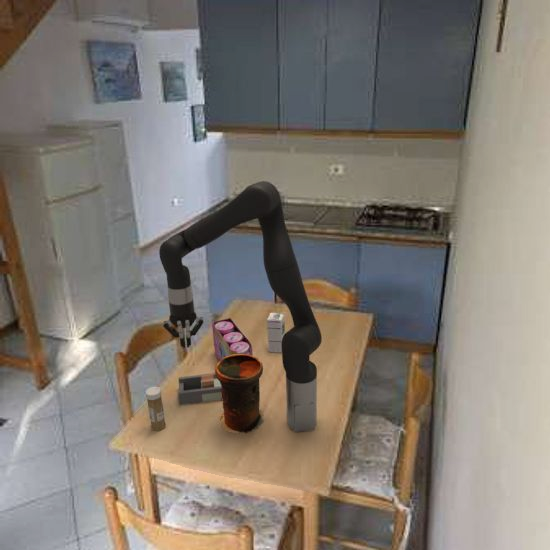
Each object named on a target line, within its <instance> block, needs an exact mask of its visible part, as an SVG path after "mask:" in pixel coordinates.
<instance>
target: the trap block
mask: <svg viewBox="0 0 550 550" xmlns="http://www.w3.org/2000/svg"><path fill="white" fill-rule="evenodd" d="M207 374H208V375H202V374H200V375H201V379H202V389H203V388H211V387H214V378H213V374H211V373H207Z"/></svg>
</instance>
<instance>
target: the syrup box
mask: <svg viewBox="0 0 550 550" xmlns="http://www.w3.org/2000/svg"><path fill="white" fill-rule="evenodd" d="M266 329H267V346H268V348H267V349H268V352H270V353H276V354H277V353H279V354H282V346H281V344H282V338H283V336H284V334H285V333H286V327H285V314H284V313H280V312H270V313H269V315H268V316H267V319H266Z"/></svg>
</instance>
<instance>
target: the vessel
mask: <svg viewBox="0 0 550 550" xmlns="http://www.w3.org/2000/svg"><path fill="white" fill-rule="evenodd" d="M263 370H264V366H263V363H262V362H261V360H260V359H259V358H258V357H257V356H255V355H253V356H251V355H248V354H233V355H229V356H226V357H224V358H223V359H222V360H219V361H218V362H217V363H216V366H215V368H214V373H215V375H216V378H217V379H218V380H219V381H220V384H221V386H222V388H221V393H222V400H221V401H222V408H223V413H222V414H221V415H222V416H220V417H219V419H220V421H221V422H220V425H221V426H222V427H223V429H224V430H225V431H226V432H230V433H233V434H237V433H238V434H241V433H245V434H247V433H251V432H253V431H256V430H258V428H259V427H260V426H261V425H262V424H263V423H264V421H265V418H263V416H264V414H263V410H262V409H260V402H261V400H260V399H261V398H260V397H261V396H260V394H261V393H260V378H261V377H262V375H263V373H264V371H263Z"/></svg>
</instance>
